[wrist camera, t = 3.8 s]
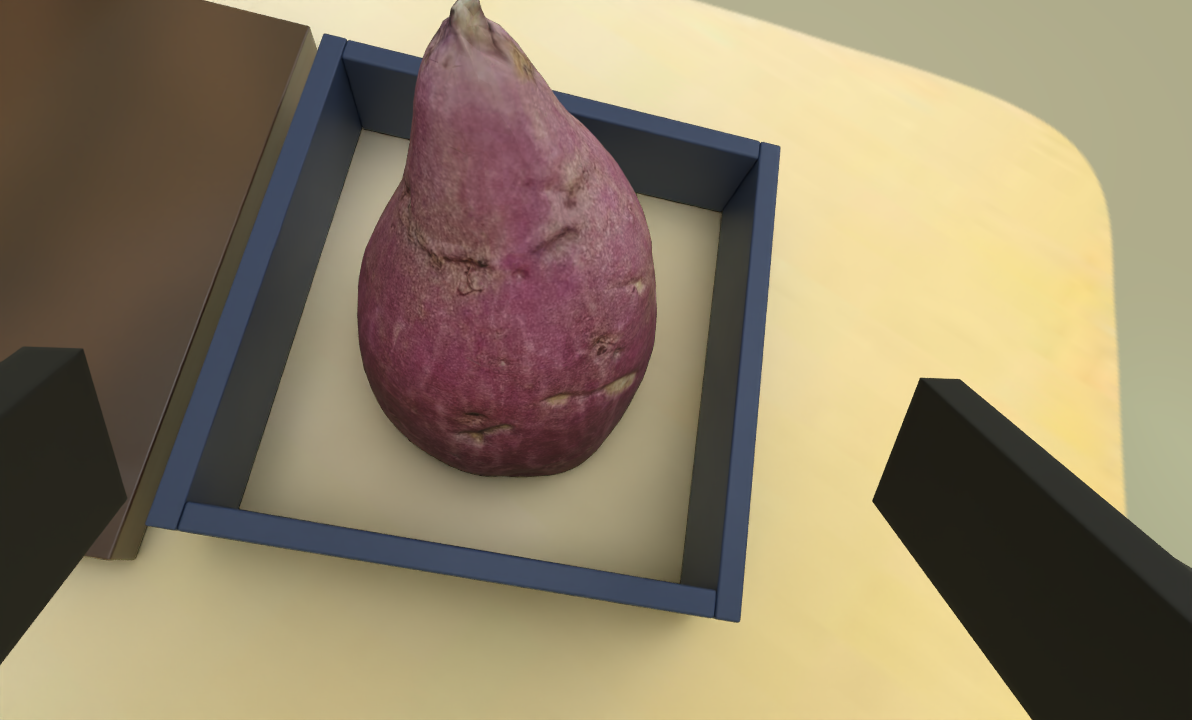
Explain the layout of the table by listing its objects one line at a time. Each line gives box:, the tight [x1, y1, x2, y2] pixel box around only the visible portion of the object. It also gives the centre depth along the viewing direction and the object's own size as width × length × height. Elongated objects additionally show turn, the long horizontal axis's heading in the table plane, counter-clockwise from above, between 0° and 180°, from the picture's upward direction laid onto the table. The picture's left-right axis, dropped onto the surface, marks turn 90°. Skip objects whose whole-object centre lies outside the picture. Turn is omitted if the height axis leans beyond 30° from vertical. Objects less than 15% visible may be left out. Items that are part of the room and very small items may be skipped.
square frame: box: [145, 34, 780, 623], centre depth 23 cm, size 17×17×4 cm
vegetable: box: [357, 0, 657, 477], centre depth 19 cm, size 10×10×15 cm
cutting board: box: [0, 0, 317, 560], centre depth 22 cm, size 14×20×2 cm
